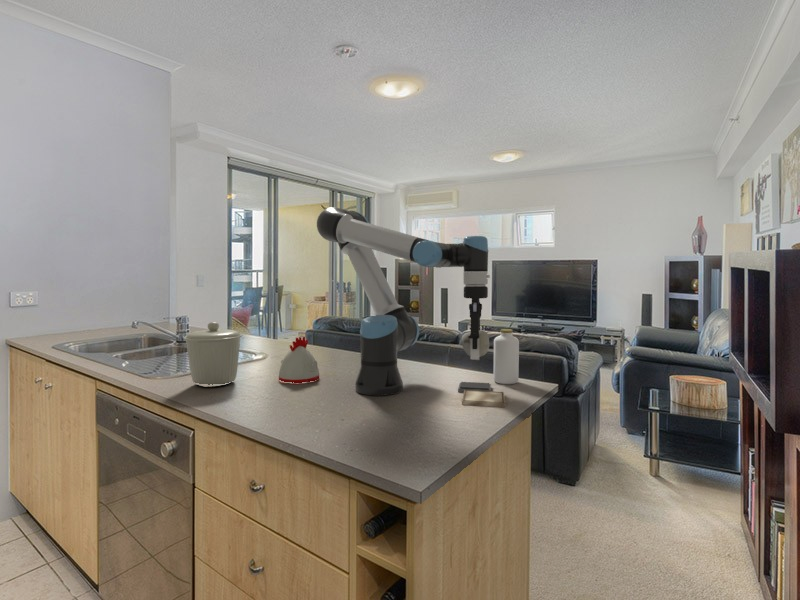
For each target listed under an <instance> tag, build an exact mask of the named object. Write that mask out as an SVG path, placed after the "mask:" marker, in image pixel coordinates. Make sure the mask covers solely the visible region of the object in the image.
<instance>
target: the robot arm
mask: <svg viewBox="0 0 800 600" xmlns="http://www.w3.org/2000/svg"><path fill="white" fill-rule="evenodd" d="M316 228H317V232H318V233H319V235H320V236H321V237H322V239H325V240H326V241H327V242H333V243H334V242H335V243H337V245H338V247H339V249H340V251H341V253H342V254H344V255H348V259H349V260H350V262H351V264H352V267H353V269H354V271H355V273H356V276H357V278H358V279H359V281H360V284H361V286H362V288H363V290H364V292H365V295H366V296H367V299H368V302H369V303H370V305H371V307H372V309H373V312H374V314H375V315H370V316H367V317H365V318H363V319H362V320H361V322H360V329H359V334H360V368H359V371H358V374H357V378H356V380H355V386H354V387H355V390H354V391H355V392H356V393H358V394H360V395H364V396H377V397H378V396H379V397H380V396H389V395H395V394H398V393H401V392H403V389H404V388H403V387H404V386H403V385H404V384H403V379H402V376H401V373H400V371H399V366H398V352H400V351H406V350H407V349H409V348H411V347H412V346H413V345H415V344H416V342H417V341H418V338H419V337H420V326H419V324H418V322H417V320H416V319H415V318H414V317H412V316H410V315H409V314H408V311H407V310H406V309H405V306H404V305H401V304H399V303H398V301H397V299H396V297H395V295H394V293H393V290H392V288H391V286H390V285H389V282H388V281H387V278H386V276H385V273H384V272H383V269H382V267H381V266H380V263H379V262H378V259H377V257H376V255H375V254H374V251H377V252H381V253H384V254H387V255H391V256H393V257H397V258H401V259H404V260H406V261H410V262H413V263H415V264H418V265H419V266H421V267H425V268H438V269H439V268H440V269H441V268H463V285H465V286H464V287H463V298H465V299H471V303H469V304H468V309H469V318H470V332H471V334H470V336H468V338H470V356H469V357H470V360H472V361H473V360H476V361H480V357H479V330H481V319H482V318H481V317H482V310H483V304H482V303H481V302H480V299H487V298H488V297H489V287H488V286H487V285H488V282H489V281H488V280H489V279H490V278H491V277H490V274H489V273H488V268H489V247H488V245H489V243H488V238H487V237H486V236H483V235H469V236H465V237H463V242H460V243H443V242H437V241H433V240H429V239H426V238H421V237H418V236H415V235H411V234H407V233H404V232H400V231H396V230H393V229H390V228H387V227H383V226H380V225H375V224H371V223H370V222H369V220H368V218H367V217H366V216H365V215H363V214H362V213H360V212H358V211H356V210H348V209H343V208H339V207H334V206H332V207H327V208H326V209H324V210H322V211H321V213H319V215H318V216H317V219H316ZM373 250H374V251H373Z"/></svg>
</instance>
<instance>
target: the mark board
mask: <svg viewBox="0 0 800 600" xmlns="http://www.w3.org/2000/svg"><path fill="white" fill-rule="evenodd" d="M461 405H464V406H465V405H466V406H483V407H496V408H497V407H500V408H505V407H506V398H505V392H504V391H493V390H491V391H473V390H464V392H463V394H462V398H461Z"/></svg>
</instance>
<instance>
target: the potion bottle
mask: <svg viewBox="0 0 800 600" xmlns="http://www.w3.org/2000/svg"><path fill="white" fill-rule="evenodd" d="M513 331H514V330H513V329H510V328H509V329H508V328H502V329H500V332H499V334H500V335H498V336H495V337H494V339H493V377H492V378H493V381H494V382H495V383H497V384H500V385H515V384H517V383H518V382H519V375H520V374H519V367H520V366H519V364H520V362H519V361H520V359H519V357H520V340H519V338H517V337H516V336H514V335H513V334H514V332H513Z"/></svg>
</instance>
